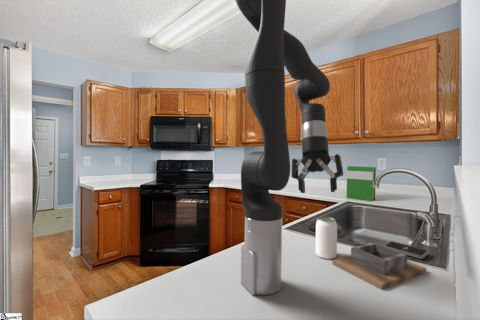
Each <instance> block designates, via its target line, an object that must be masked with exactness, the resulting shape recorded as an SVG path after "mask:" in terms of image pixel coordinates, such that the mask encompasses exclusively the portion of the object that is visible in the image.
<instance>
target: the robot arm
mask: <svg viewBox="0 0 480 320" xmlns="http://www.w3.org/2000/svg"><path fill="white" fill-rule="evenodd" d="M235 3H236V5H237V7H238V9H239V11H240V12H241V13H242V15H243V16H244V17H245V18H246V20H247V21H248V22H249V24H250V25H251V26H252V27H253V28H254V29H255V30H256V32H257V36H256V39H255V41H254V44H253V45H252V49H251V51H250V53H249V57H248V59H247V62H246V67H245V92H246V93H245V94H246V100H247V102H248V104H249V107H250V109H251V111H252V112H253V115H254V116H255V118H256V119H257V123H259V126H260V128H261V129H260V130H261V133H262V139H263V151H251V152H249V153H248V154H245V157H244V158H243V160H242V162H241V163H242V164H241V168H240V186H241V187H240V188H241V190H240V191H241V203H242V207H243V210H244V245H241V248H240V284H241V285H242V286H243V287H244V288H245V289H246V290H247V291H248V292H249V294H251V295H253V296H255V295H262V296H264V295H265V296H267V295H273V294H276V293H277V292H279V291H280V290H281V288H282V265H283V264H282V261H283V260H282V256H283V254H282V252H283V251H282V250H283V249H282V248H283V243H282V242H283V206H282V205H281V204H280V203H279V202H278V201H277V200H275V199H274V198H273V197H272V195H271V194H270V191H277V192H279V191H281V190H283V189H285V187H286V186H287V185H288V183H289V181H290V176H291V179H292V178H293V179H294V180H297V181H298V185H297V186H298V191H300V193H301V194H305V193H306V183H305V178H306V177H307V176H308V175H309V174H310V173H317V172H319V173H322V172H326V173H327V174H328V176H329V177H330V178H329V185H330V192H331V193H335V192H336V191H337V190H338V185H337V184H338V183H337V182H338V181H337V179H338V178H340V177H343V176H344V169H343V164H342V163H343V161H342V157H341V155H340V154H338V153H337V154H336V153H335V155H330V152H329V150H330V149H329V133H328V128H327V122H326V108H325V106H324V105H323V104H321V103H317V102H315V103H311V102H310V101H313V100H315V99H320V98H323V97H325V96H327V95H328V94H329V92H330V89H331V83H330V81H329V78H328V77H327V75H326V74H325V73H324V72H323V71H322V70H321V69H320V68H319V67H318V66H317V65H316V64H315V63H314V62H313V61H312V59H311V58H310V55H309V53H308V51H307V50H306V48H305V45H304V44H303V43H302V41H300V40H299V39H298V38H297V37H296V36H294V35H293V34H291V33H290V32H288V31H287V30H285V23H286V21H285V20H286V19H285V18H286V7H287V0H235ZM285 71H287V73H288V74H289V76H290V77H291V78H292V79H293V80H296V81H297V82H296V84H295V86H294V94H295V97H296V100H297V103H298V107H299V108H300V109H299V110H300V113H301V114H300V115H301V134H300V135H301V150H302V151H301V153H302V157H301V158H298V159H296V158H292V159H291V158H290V150H289V143H288V142H289V141H288V135H287V134H288V133H287V123H286V122H287V118H286V104H285V103H286V97H285V95H286V82H285V81H286V78H285V74H286V73H285ZM291 160H292V161H291ZM290 161H291V162H290ZM331 161H332V163H334V164H335V167H336V172H333V170H332V169H331V168H330V167H329V166H328V165H329V164H330V162H331ZM301 164H302V165H303V167H302V169H301V171H300V173H299V167H300V165H301ZM275 292H276V293H275Z"/></svg>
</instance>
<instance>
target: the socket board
mask: <svg viewBox="0 0 480 320" xmlns="http://www.w3.org/2000/svg"><path fill="white" fill-rule="evenodd" d="M332 265H333V266H336V267H337V268H339V269H341V270H343V271H345V272H347V273H349V274H351V275H353V276H355V277H357V278H359V279H360V280H362V281H364V282H366V283H368V284H370V285H372V286H374V287H376V288H378V289H379V290H384V289H386V288H389V287H392V286H394V285H396V284H397V285H398V284H400V283H403V282H404V281H407V280H410V279H413V278H414V277H415V278H416V277H417V276H419V275H423V274H425V273H427V267H425V266H422V265H419V264H417V263H414V262H412V261H409V260H408V257H407V254H405V253H402V252H399V251H396V250H393V249H391V248H388V247H385V246H384V245H382V244H379V243H376V242H370V243H365V244H361V245H357V246H356V245H355V246H353V247H351V248H350V255H348V256H347V255H346V256H344V257H340V258H337V259H336V258H335V259H332Z"/></svg>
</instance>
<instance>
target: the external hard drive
mask: <svg viewBox="0 0 480 320" xmlns="http://www.w3.org/2000/svg"><path fill="white" fill-rule="evenodd" d="M383 246H385V247H388V248H391V249H393V250H396V251H399V252H402V253H405V254H407V258H409V257H411V258H410V259H412V258H414V259H413V260H416V259H418V260H417V261H419V260H422V261H423V260H424V259H426V258H427V257H426V255H428V256H429V250H427V249H423V248H419V247H415V246H411V245H408V244H404V243H399V242H395V241H390V242H388V243H385V244H384V245H383ZM425 257H426V258H425Z"/></svg>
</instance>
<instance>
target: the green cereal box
mask: <svg viewBox="0 0 480 320" xmlns="http://www.w3.org/2000/svg"><path fill="white" fill-rule="evenodd" d="M346 167H347V169H346V199H352V200H359V201H366V202H373V201H376V187H375V188H374V187H373V186H372V185H373V183H374V181H375V182H376V180H375V179H376V178H377V177H376V173H377V169H376V168H377V167H374V166H346Z"/></svg>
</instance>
